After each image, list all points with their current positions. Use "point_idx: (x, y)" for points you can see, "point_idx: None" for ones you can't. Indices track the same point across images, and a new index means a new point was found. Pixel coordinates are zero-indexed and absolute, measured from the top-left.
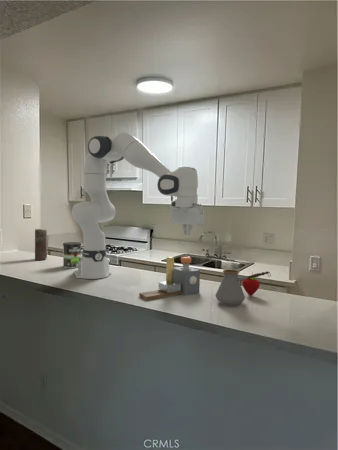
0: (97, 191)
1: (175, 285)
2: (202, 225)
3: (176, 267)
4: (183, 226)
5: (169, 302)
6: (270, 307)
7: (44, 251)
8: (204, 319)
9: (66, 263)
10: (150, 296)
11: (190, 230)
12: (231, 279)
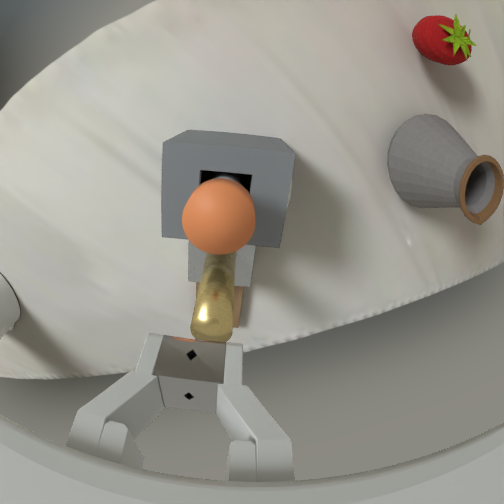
0: None
1: (254, 254)
2: (497, 429)
3: (167, 214)
4: (143, 456)
5: (291, 287)
6: (488, 116)
7: None
8: (416, 293)
9: None
10: (239, 317)
11: (251, 396)
12: (475, 201)
